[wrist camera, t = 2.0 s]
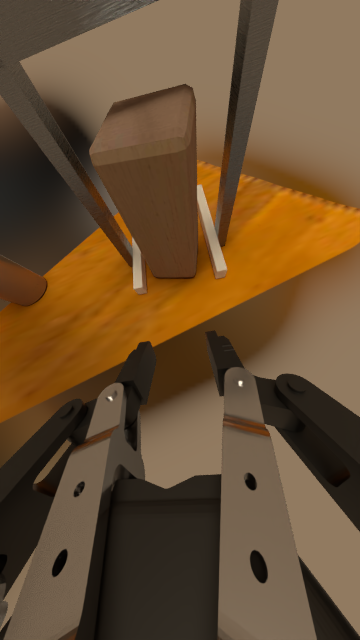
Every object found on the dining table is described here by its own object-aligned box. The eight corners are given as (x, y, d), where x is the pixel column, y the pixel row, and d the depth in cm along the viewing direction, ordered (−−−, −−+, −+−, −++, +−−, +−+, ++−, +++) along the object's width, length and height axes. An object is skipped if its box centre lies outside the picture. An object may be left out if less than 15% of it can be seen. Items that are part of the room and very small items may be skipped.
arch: (130, 267, 33) (-75, -5, 8) (130, 257, 34) (-55, -12, 9) (224, 245, 31) (327, -224, 6) (221, 236, 31) (300, -203, 7)
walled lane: (138, 294, 30) (133, 288, 28) (135, 213, 39) (131, 204, 36) (224, 277, 28) (227, 269, 26) (201, 195, 37) (201, 184, 34)
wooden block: (198, 244, 32) (196, 77, 13) (195, 279, 29) (188, 130, 10) (159, 246, 34) (108, 100, 15) (154, 279, 31) (80, 152, 12)
